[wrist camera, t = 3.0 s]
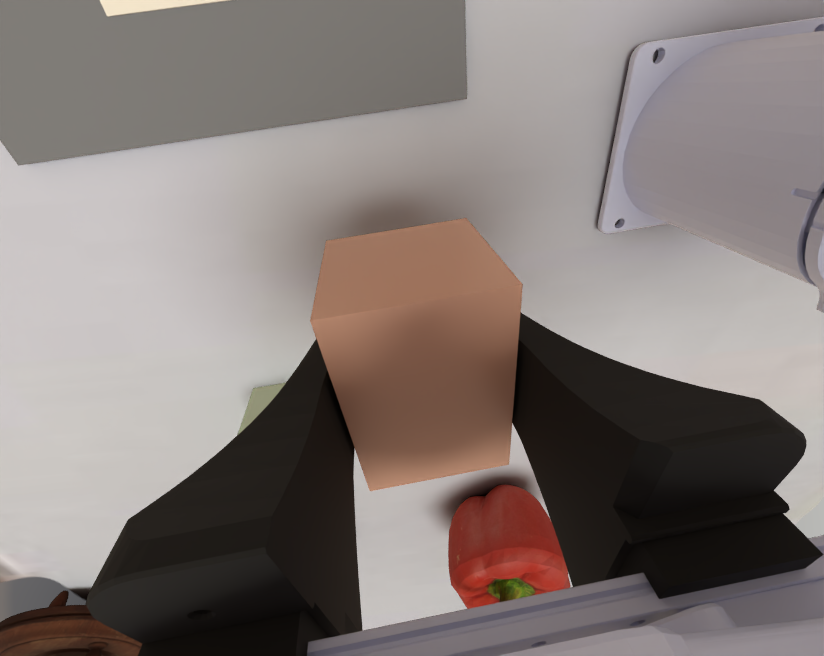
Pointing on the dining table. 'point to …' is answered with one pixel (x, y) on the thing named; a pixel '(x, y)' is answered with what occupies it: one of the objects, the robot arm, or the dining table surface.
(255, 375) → the dining table surface
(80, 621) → the scroll
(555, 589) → the vegetable
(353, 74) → the mat
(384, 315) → the terracotta brick
